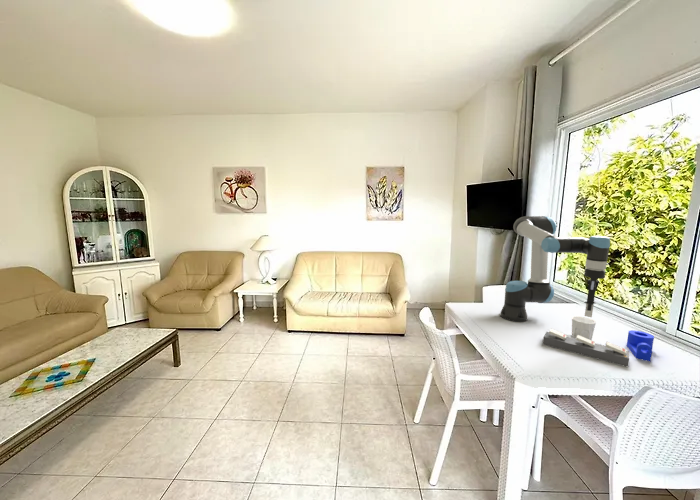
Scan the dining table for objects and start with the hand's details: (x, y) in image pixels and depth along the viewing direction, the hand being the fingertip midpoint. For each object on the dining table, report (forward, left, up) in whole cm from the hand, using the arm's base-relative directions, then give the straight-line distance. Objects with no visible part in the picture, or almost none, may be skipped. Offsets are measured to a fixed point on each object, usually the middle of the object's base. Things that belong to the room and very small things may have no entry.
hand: (588, 316), depth 142 cm
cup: (-2, +18, -18) cm, 25 cm away
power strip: (0, -2, -17) cm, 18 cm away
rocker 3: (+11, -2, -12) cm, 17 cm away
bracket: (+21, +16, -18) cm, 32 cm away
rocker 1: (-11, -2, -12) cm, 17 cm away
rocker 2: (0, -2, -12) cm, 13 cm away
